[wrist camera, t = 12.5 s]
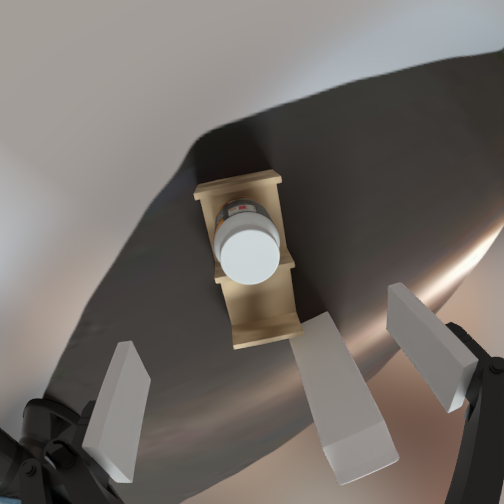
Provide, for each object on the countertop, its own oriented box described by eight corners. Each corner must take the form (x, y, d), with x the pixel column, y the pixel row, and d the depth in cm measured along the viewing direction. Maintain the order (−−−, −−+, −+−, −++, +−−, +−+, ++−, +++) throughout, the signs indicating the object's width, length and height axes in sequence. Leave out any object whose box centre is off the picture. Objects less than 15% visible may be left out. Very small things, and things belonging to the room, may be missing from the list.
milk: (340, 340, 42) (403, 469, 22) (301, 358, 43) (345, 494, 23) (327, 309, 40) (398, 446, 20) (284, 329, 41) (330, 477, 20)
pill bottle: (208, 202, 33) (203, 232, 23) (262, 189, 33) (278, 213, 23) (222, 252, 35) (222, 297, 25) (274, 239, 35) (292, 281, 25)
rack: (232, 323, 40) (234, 349, 35) (198, 184, 33) (193, 193, 28) (294, 310, 40) (303, 334, 35) (272, 169, 33) (280, 176, 28)
